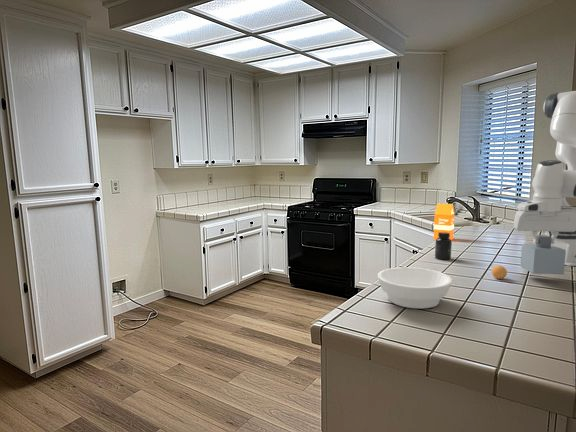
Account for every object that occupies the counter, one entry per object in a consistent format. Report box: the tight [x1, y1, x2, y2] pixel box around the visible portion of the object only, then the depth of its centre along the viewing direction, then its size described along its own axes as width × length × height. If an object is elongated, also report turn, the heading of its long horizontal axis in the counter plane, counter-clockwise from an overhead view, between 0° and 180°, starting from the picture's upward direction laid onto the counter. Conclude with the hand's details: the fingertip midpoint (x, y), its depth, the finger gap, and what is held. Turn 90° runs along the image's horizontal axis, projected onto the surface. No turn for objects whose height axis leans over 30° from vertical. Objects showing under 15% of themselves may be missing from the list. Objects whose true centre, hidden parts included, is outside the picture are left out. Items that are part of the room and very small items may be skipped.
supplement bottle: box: [434, 232, 453, 261], centre depth 179 cm, size 7×7×12 cm
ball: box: [491, 265, 508, 280], centre depth 148 cm, size 5×5×5 cm
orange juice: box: [433, 203, 455, 241], centre depth 222 cm, size 8×9×20 cm
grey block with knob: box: [519, 234, 566, 275], centre depth 145 cm, size 10×10×13 cm
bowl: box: [377, 266, 453, 309], centre depth 126 cm, size 22×22×8 cm
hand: (543, 243), depth 145 cm, fingers closed on grey block with knob, 3 cm apart
